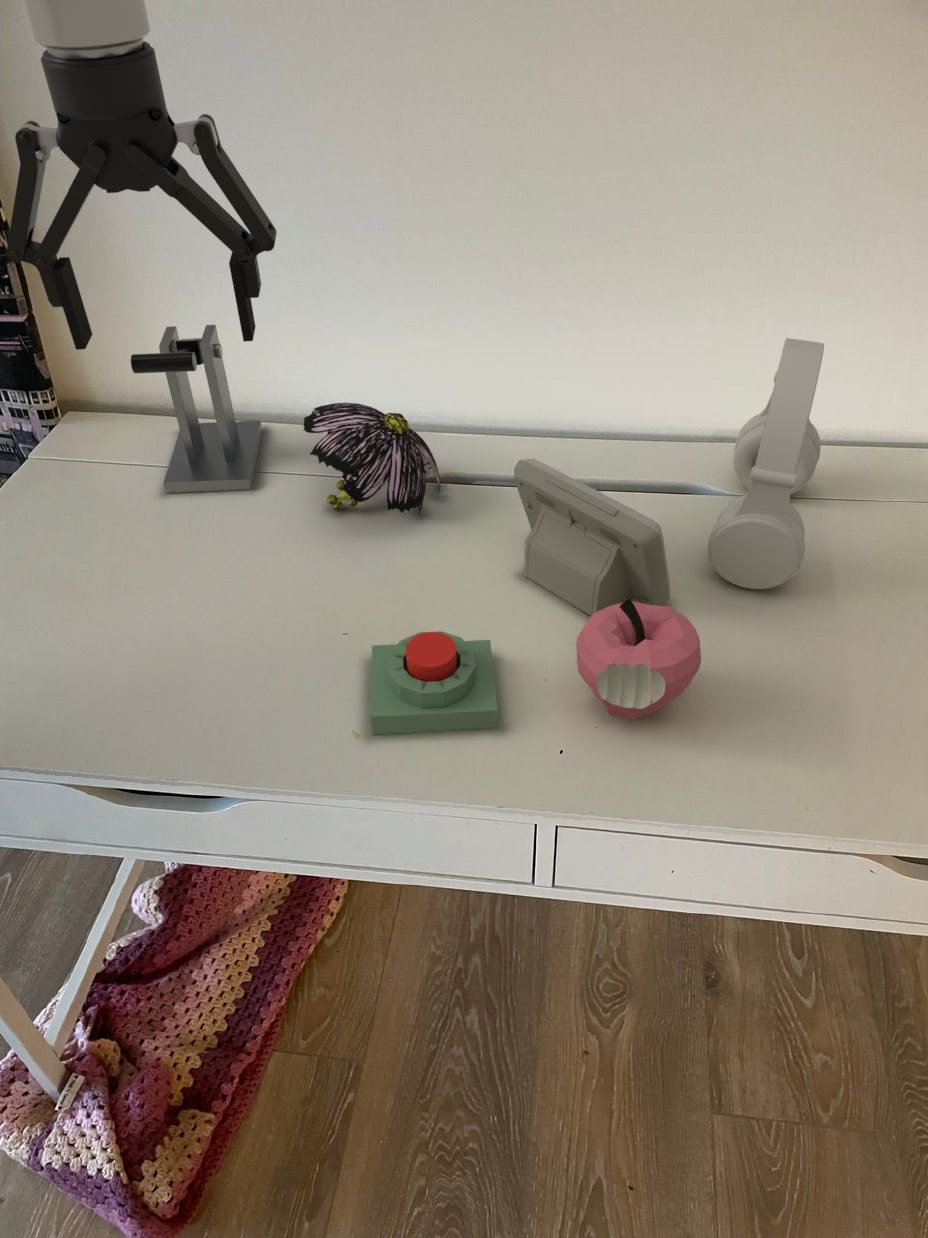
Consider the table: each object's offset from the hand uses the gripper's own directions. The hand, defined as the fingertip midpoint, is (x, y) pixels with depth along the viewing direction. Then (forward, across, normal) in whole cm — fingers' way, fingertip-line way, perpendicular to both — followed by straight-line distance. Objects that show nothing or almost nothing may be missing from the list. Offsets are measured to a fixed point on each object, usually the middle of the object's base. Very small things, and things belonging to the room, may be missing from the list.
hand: (167, 338), depth 78 cm
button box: (+22, -20, +22) cm, 37 cm away
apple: (+22, -36, +24) cm, 49 cm away
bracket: (+22, +2, -16) cm, 27 cm away
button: (+18, -20, +22) cm, 35 cm away
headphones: (+22, -54, +3) cm, 58 cm away
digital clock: (+22, -36, +8) cm, 43 cm away
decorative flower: (+22, -16, -6) cm, 28 cm away
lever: (+8, +2, -10) cm, 13 cm away
